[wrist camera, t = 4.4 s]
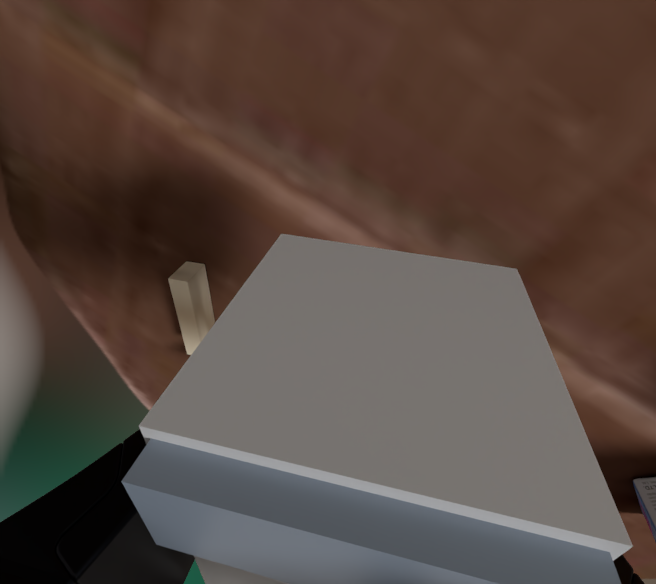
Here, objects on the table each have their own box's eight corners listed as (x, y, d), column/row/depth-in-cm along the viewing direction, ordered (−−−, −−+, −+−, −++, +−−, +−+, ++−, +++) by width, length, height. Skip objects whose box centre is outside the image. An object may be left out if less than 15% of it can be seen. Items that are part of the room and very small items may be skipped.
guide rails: (331, 359, 24) (325, 382, 22) (201, 334, 25) (186, 354, 24) (337, 285, 21) (329, 306, 19) (186, 261, 22) (167, 278, 20)
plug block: (445, 438, 11) (460, 714, 6) (285, 403, 11) (199, 629, 7) (517, 268, 7) (663, 618, 3) (281, 233, 8) (106, 469, 4)
